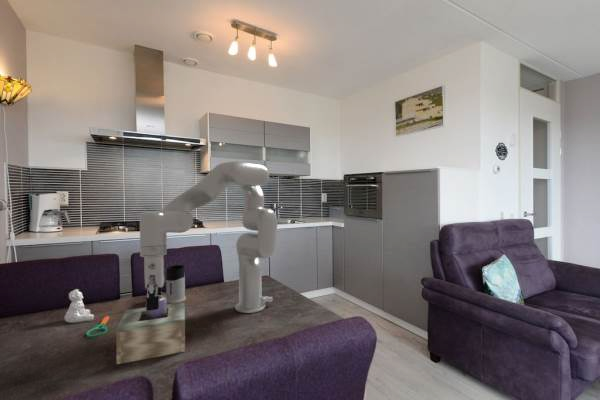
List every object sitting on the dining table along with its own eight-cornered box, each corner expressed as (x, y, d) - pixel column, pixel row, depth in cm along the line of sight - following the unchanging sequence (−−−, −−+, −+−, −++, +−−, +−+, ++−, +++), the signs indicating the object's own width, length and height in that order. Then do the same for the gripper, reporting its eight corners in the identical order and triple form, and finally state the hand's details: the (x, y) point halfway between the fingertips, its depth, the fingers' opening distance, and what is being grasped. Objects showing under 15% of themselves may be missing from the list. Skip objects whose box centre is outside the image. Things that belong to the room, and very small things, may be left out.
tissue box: (184, 330, 103) (184, 302, 103) (185, 351, 89) (184, 319, 89) (126, 340, 96) (126, 309, 96) (116, 364, 82) (116, 329, 82)
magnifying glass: (104, 337, 99) (104, 332, 99) (83, 340, 97) (83, 335, 97) (115, 319, 113) (115, 315, 113) (97, 321, 111) (97, 317, 111)
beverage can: (157, 350, 89) (157, 302, 89) (142, 347, 91) (141, 300, 91) (171, 341, 95) (170, 295, 95) (156, 338, 97) (155, 294, 97)
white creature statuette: (95, 320, 112) (94, 289, 112) (66, 327, 105) (66, 294, 105) (89, 313, 118) (88, 284, 118) (62, 320, 112) (61, 289, 112)
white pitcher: (190, 298, 135) (189, 266, 135) (161, 308, 123) (160, 273, 123) (178, 295, 139) (178, 264, 139) (149, 304, 127) (149, 270, 127)
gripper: (165, 254, 85) (165, 312, 86) (168, 245, 101) (168, 294, 102) (135, 256, 83) (136, 316, 83) (143, 246, 99) (144, 296, 99)
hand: (154, 304), depth 92 cm, fingers open, 9 cm apart
